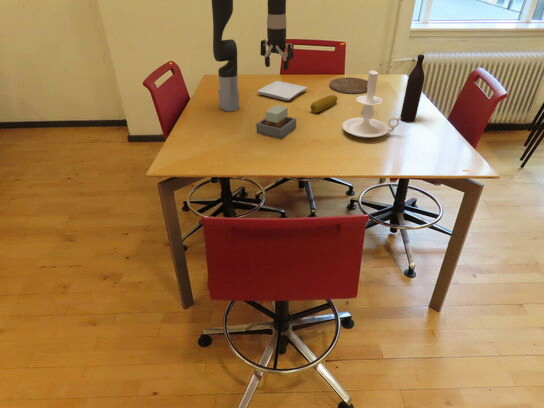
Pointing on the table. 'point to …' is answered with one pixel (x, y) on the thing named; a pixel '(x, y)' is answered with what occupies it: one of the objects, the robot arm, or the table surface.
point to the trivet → (349, 85)
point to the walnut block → (277, 125)
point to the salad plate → (281, 90)
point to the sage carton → (276, 113)
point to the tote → (274, 131)
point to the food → (323, 103)
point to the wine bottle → (413, 92)
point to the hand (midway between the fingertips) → (276, 68)
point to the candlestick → (368, 114)
